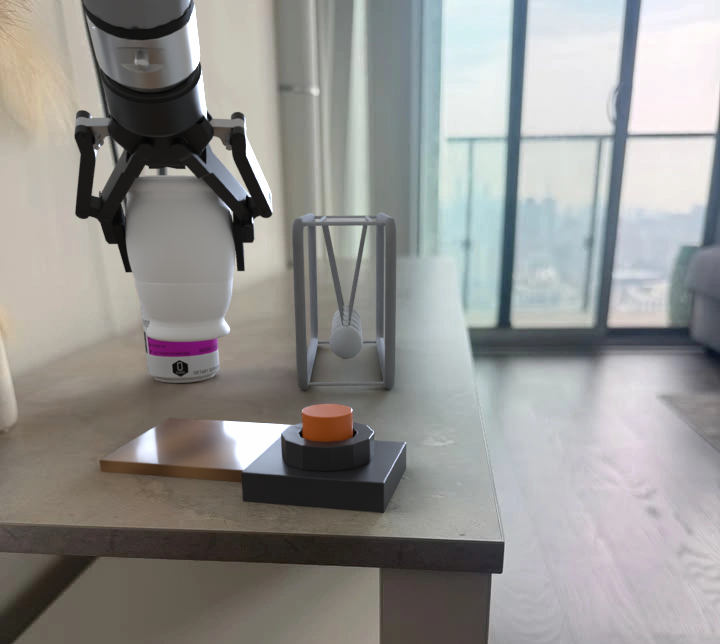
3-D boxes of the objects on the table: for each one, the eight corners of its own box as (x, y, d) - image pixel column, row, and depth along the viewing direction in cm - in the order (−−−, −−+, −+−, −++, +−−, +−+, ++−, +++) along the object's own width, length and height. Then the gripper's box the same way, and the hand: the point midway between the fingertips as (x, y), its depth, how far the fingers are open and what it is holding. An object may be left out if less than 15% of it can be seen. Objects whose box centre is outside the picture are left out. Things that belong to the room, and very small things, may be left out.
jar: (241, 343, 72) (231, 175, 67) (130, 346, 70) (111, 174, 65) (239, 326, 82) (231, 177, 76) (141, 328, 80) (126, 177, 75)
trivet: (100, 471, 58) (98, 459, 58) (170, 428, 69) (169, 417, 68) (246, 483, 55) (246, 470, 55) (295, 435, 66) (295, 424, 66)
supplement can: (231, 377, 88) (222, 243, 82) (163, 387, 83) (149, 246, 78) (203, 366, 94) (193, 240, 89) (139, 374, 90) (124, 243, 84)
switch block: (242, 502, 52) (238, 447, 51) (283, 460, 60) (281, 412, 59) (383, 513, 50) (384, 457, 48) (406, 468, 58) (407, 419, 57)
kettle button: (296, 443, 52) (295, 415, 52) (310, 429, 56) (309, 402, 55) (346, 447, 52) (345, 418, 51) (357, 432, 55) (357, 404, 54)
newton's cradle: (311, 343, 108) (307, 212, 102) (383, 342, 108) (384, 212, 102) (297, 394, 80) (291, 218, 74) (395, 393, 80) (397, 218, 74)
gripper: (-17, 94, 53) (66, 292, 73) (305, 99, 56) (300, 289, 76) (-5, 24, 56) (71, 233, 76) (299, 32, 59) (296, 232, 79)
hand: (185, 261), depth 76 cm, fingers closed on jar, 10 cm apart
